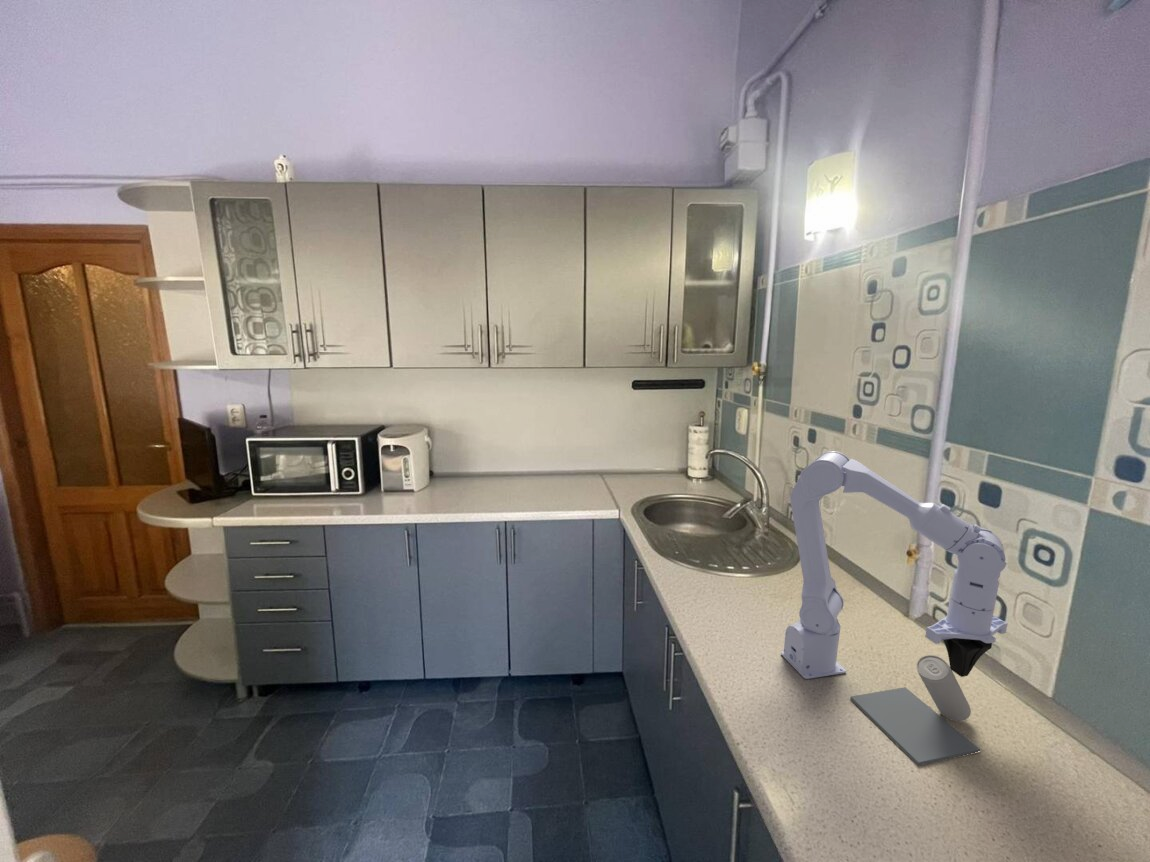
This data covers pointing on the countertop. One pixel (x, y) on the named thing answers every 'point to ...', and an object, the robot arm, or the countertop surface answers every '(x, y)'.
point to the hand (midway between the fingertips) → (958, 672)
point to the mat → (914, 726)
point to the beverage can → (943, 688)
